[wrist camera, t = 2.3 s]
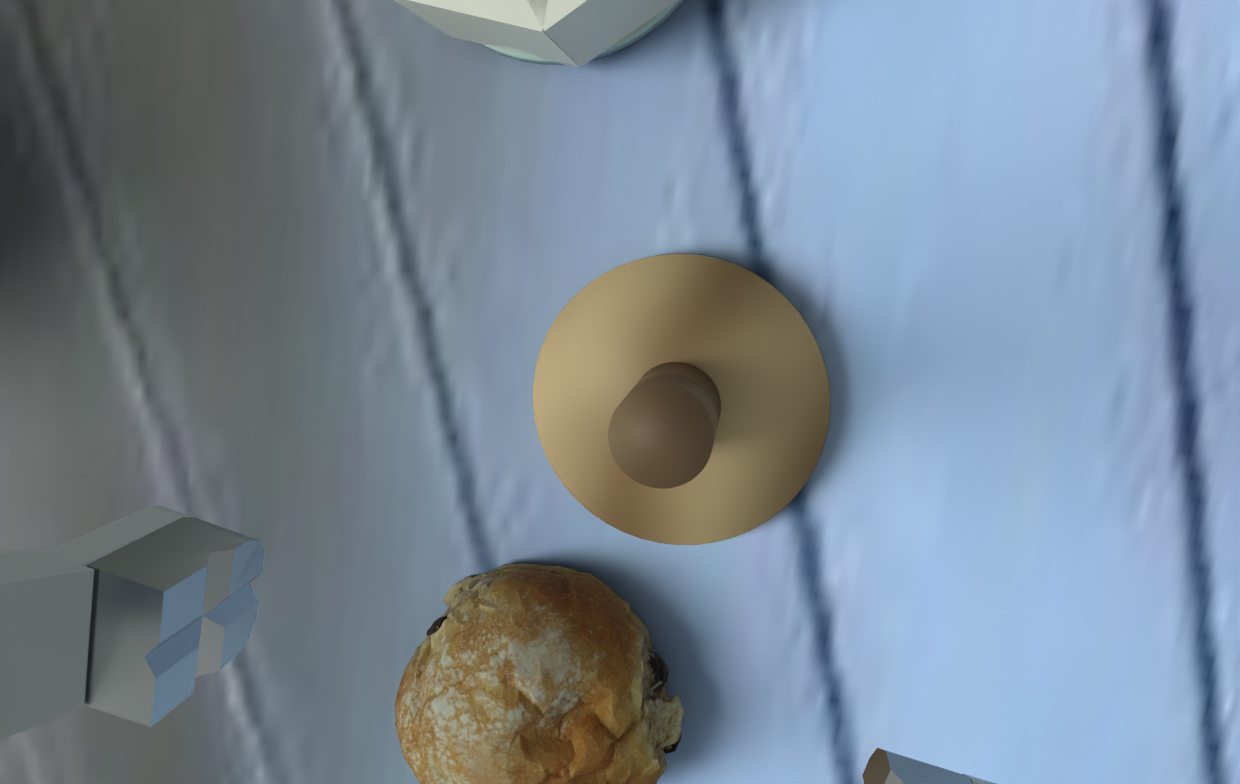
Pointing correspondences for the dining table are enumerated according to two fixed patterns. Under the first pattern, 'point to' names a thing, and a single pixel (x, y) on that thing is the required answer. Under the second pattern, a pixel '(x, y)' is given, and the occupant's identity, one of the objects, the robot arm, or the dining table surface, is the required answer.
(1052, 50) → the dining table surface
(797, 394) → the wooden lid
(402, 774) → the dining table surface
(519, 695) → the bread roll
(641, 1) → the octagonal jar
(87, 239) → the dining table surface
